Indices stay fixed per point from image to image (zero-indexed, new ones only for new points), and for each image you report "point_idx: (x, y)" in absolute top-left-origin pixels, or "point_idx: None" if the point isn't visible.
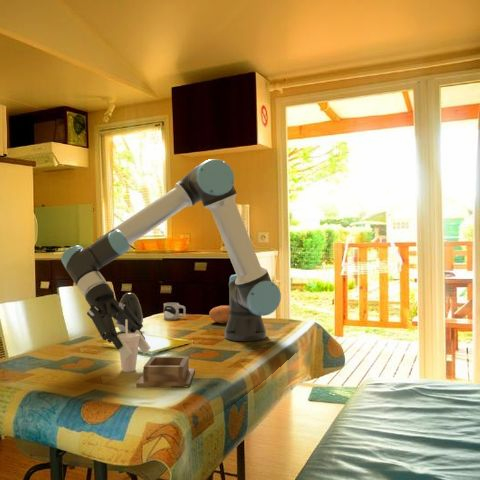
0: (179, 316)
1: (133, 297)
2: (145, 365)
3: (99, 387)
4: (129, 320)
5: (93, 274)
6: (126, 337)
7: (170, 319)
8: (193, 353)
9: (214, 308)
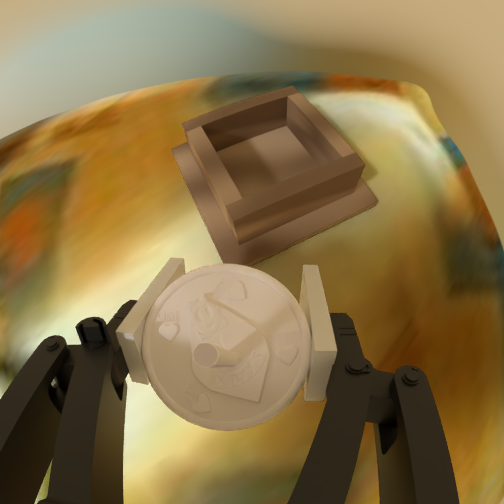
0: None
1: None
2: (349, 167)
3: (436, 295)
4: (85, 414)
5: None
6: (295, 304)
7: None
8: (15, 268)
9: None
